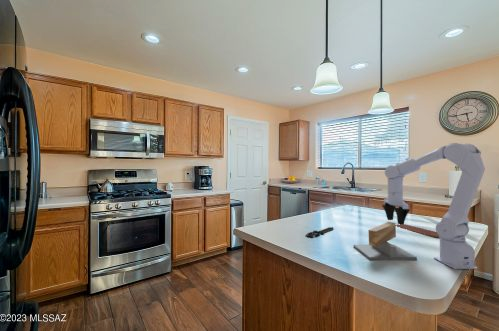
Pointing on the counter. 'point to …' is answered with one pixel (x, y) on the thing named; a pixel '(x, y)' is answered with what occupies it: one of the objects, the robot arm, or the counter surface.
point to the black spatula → (318, 232)
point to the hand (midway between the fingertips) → (395, 221)
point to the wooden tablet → (419, 230)
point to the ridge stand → (384, 252)
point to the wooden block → (382, 234)
